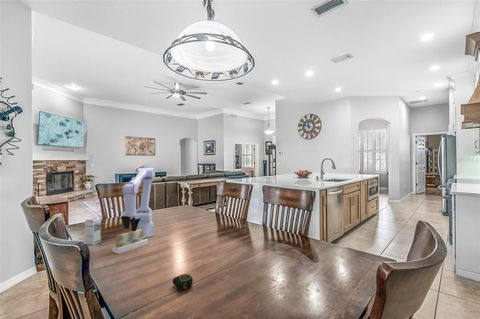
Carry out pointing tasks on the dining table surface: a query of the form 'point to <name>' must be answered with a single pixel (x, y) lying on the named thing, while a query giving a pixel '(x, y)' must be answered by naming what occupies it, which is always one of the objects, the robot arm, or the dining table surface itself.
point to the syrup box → (93, 230)
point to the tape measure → (183, 281)
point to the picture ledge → (130, 246)
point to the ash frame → (129, 238)
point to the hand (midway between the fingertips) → (130, 229)
